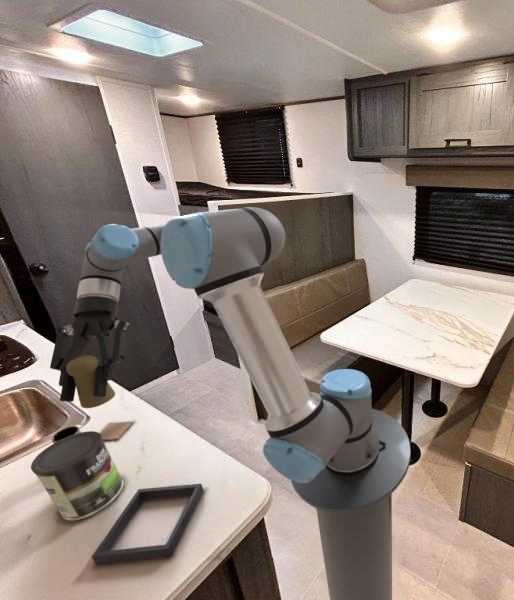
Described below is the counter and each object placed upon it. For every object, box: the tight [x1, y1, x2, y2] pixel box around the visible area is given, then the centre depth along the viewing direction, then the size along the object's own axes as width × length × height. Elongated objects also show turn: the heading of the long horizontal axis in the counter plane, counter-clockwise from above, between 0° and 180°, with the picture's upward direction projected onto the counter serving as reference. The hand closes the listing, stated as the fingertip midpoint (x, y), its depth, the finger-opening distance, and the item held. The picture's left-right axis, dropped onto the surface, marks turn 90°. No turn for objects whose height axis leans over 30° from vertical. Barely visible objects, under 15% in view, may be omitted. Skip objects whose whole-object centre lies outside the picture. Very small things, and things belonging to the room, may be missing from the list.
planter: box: [51, 425, 82, 444], centre depth 74 cm, size 4×4×10 cm
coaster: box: [100, 421, 134, 442], centre depth 86 cm, size 6×6×1 cm
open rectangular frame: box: [91, 483, 205, 566], centre depth 64 cm, size 13×13×2 cm
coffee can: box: [30, 430, 124, 521], centre depth 66 cm, size 10×10×14 cm
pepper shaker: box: [66, 355, 116, 409], centre depth 71 cm, size 6×6×11 cm
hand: (83, 398), depth 68 cm, fingers closed on pepper shaker, 5 cm apart
